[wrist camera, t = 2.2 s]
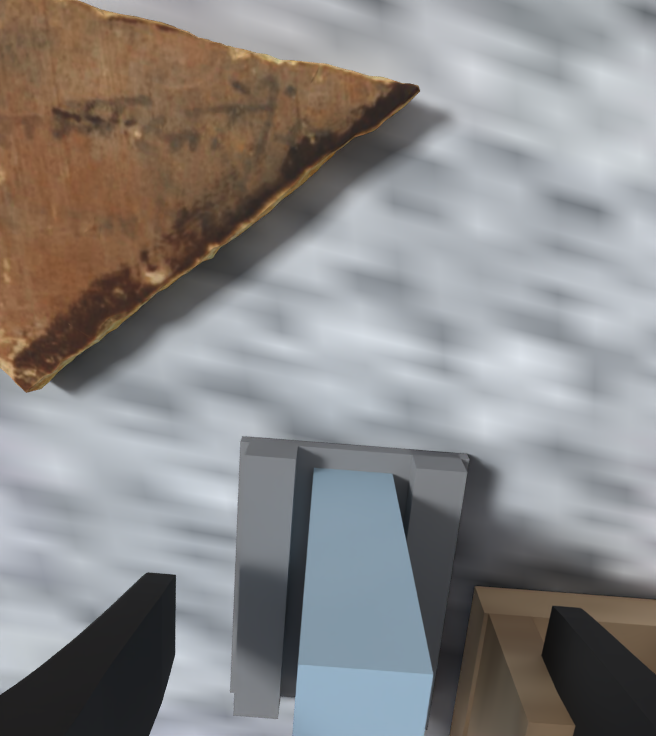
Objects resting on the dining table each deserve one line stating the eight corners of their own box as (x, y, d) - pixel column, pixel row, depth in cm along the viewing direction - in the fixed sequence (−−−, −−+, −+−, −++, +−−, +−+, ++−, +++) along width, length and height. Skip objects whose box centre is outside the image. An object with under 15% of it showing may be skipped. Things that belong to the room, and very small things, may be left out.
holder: (428, 698, 16) (435, 730, 15) (232, 683, 16) (225, 714, 15) (466, 453, 14) (476, 472, 13) (242, 436, 14) (235, 454, 13)
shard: (411, 98, 12) (424, 82, 11) (329, 434, 14) (329, 467, 13) (-123, -34, 12) (-200, -73, 10) (-128, 336, 14) (-194, 357, 12)
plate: (367, 687, 15) (386, 980, 10) (297, 681, 15) (274, 972, 10) (392, 473, 14) (432, 674, 8) (313, 467, 14) (298, 664, 8)
